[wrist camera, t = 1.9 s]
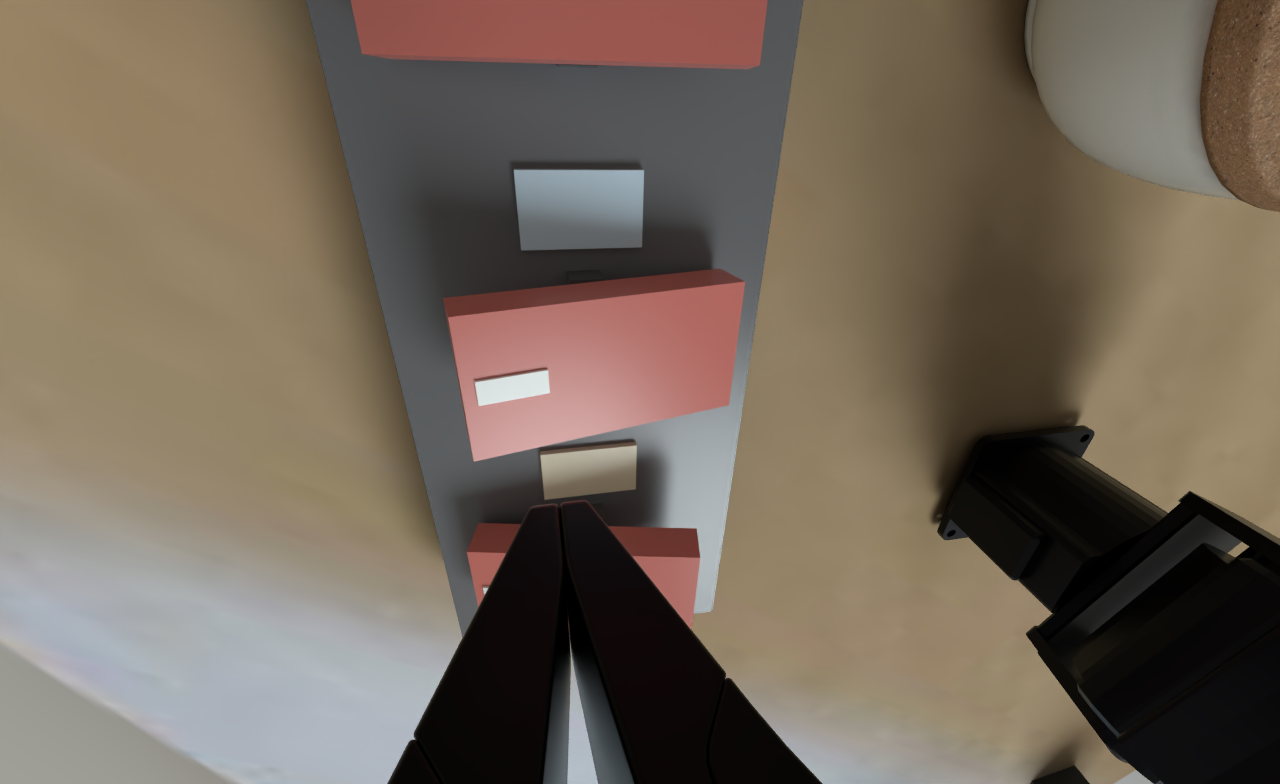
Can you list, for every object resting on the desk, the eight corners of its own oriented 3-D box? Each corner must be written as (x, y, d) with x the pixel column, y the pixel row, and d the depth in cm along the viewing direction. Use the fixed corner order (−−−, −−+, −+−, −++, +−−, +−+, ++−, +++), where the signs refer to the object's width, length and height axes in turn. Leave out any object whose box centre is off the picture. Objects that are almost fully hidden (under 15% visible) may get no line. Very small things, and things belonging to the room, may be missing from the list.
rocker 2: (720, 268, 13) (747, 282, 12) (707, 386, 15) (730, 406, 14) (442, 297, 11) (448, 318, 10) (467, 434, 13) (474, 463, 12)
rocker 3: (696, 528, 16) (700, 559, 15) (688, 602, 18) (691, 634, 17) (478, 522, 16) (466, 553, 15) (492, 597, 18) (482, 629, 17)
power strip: (774, -277, 11) (895, -458, 8) (681, 626, 27) (705, 708, 24) (276, -367, 9) (119, -663, 6) (490, 659, 25) (485, 752, 22)
